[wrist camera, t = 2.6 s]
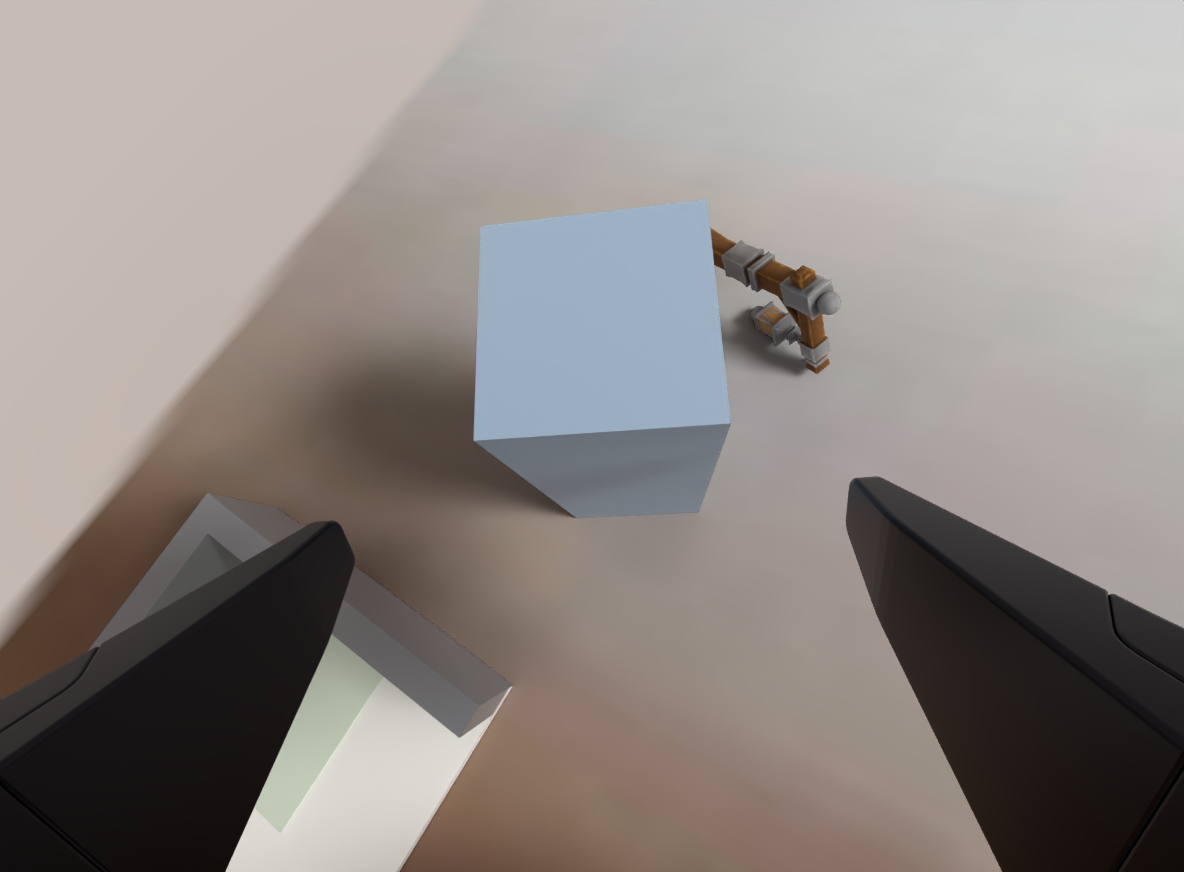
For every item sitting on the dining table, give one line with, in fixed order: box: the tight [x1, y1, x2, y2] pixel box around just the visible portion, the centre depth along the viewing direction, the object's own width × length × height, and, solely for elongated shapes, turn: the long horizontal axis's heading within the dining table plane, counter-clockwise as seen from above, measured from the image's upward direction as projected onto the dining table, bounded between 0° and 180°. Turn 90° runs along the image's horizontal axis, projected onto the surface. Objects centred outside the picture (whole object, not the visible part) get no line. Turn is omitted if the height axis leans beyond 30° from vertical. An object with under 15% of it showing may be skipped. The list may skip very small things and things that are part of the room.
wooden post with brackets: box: [710, 228, 842, 374], centre depth 20 cm, size 2×8×4 cm, turn 38°
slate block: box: [473, 199, 731, 518], centre depth 15 cm, size 5×4×11 cm
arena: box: [88, 493, 513, 872], centre depth 18 cm, size 12×11×4 cm
